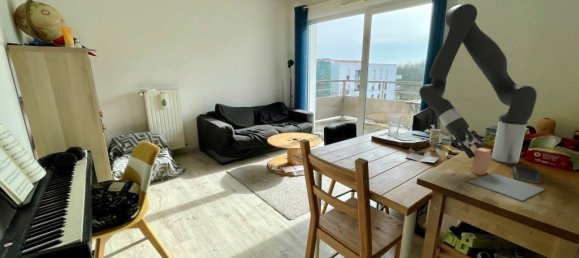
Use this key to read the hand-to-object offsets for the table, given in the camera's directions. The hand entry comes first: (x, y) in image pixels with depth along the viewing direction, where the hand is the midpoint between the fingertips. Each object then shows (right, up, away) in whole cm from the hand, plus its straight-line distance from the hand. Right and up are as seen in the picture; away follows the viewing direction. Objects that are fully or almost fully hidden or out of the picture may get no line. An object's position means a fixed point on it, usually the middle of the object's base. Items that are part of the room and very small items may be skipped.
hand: (478, 155), depth 99 cm
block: (+1, -7, +1) cm, 7 cm away
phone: (+17, -8, -2) cm, 19 cm away
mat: (+1, -10, -11) cm, 15 cm away
